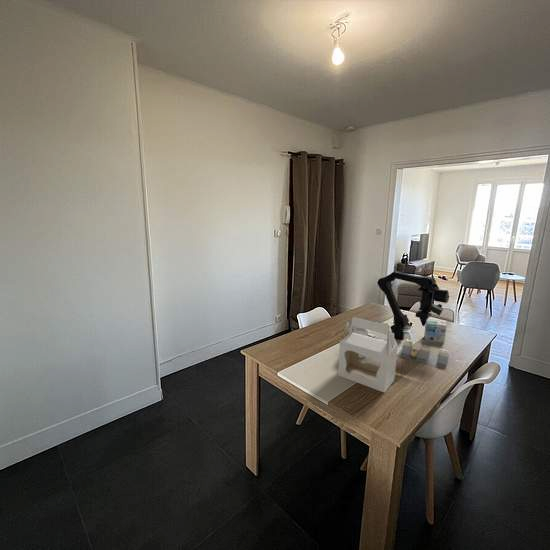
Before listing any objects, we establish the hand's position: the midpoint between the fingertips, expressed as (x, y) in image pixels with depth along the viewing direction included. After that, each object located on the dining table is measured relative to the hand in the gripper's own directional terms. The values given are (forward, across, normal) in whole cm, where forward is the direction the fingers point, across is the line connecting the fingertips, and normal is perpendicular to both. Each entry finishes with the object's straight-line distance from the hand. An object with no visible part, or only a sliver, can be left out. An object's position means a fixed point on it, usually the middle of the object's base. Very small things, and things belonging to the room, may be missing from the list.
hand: (423, 325), depth 167 cm
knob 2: (+11, -16, -13) cm, 23 cm away
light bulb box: (+13, +16, -4) cm, 21 cm away
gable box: (+13, -52, +13) cm, 55 cm away
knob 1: (+11, -16, +4) cm, 20 cm away
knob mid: (+11, -16, -4) cm, 20 cm away
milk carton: (+13, -32, +24) cm, 42 cm away
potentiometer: (+12, -20, 0) cm, 23 cm away
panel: (+12, -16, -4) cm, 21 cm away
